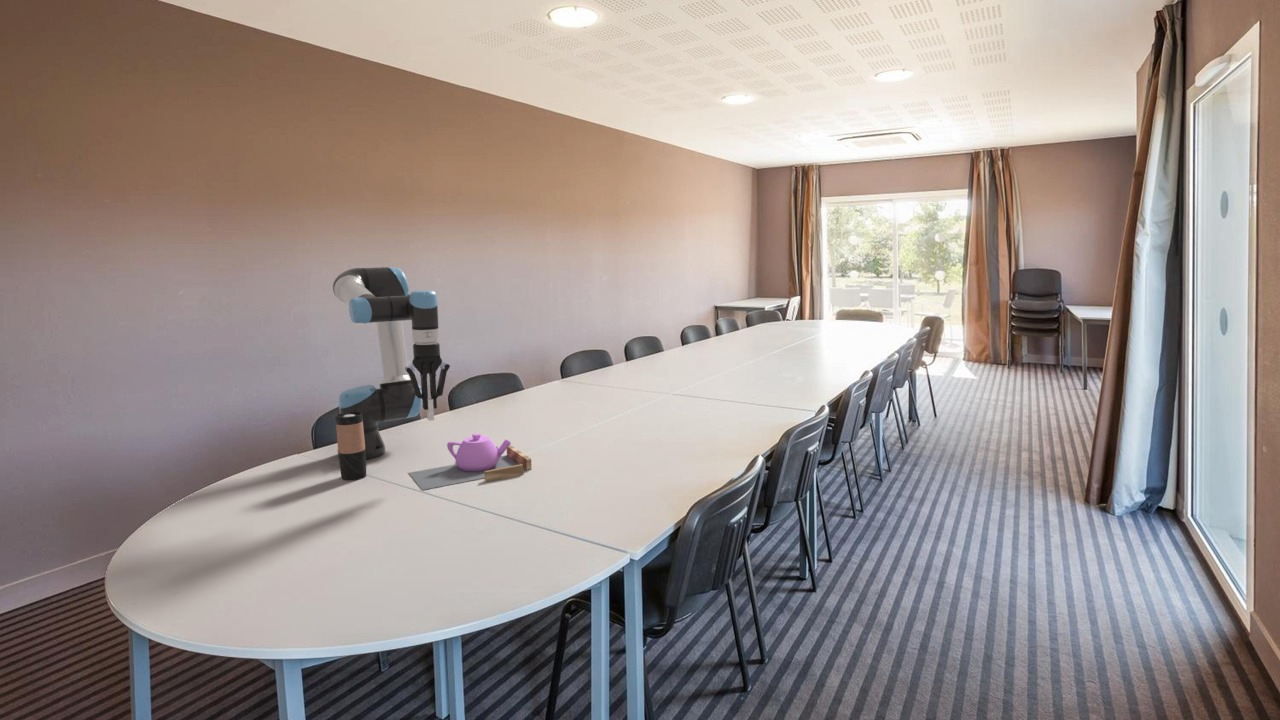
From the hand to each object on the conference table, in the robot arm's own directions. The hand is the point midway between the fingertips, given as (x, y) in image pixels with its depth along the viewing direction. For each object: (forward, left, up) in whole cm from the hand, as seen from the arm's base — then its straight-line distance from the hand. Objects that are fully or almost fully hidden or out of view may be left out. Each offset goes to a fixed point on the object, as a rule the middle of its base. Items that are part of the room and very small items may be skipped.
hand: (430, 419), depth 196 cm
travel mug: (-14, -21, -19) cm, 32 cm away
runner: (+1, +11, -18) cm, 22 cm away
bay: (+1, +19, -18) cm, 27 cm away
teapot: (-2, +15, -18) cm, 24 cm away
